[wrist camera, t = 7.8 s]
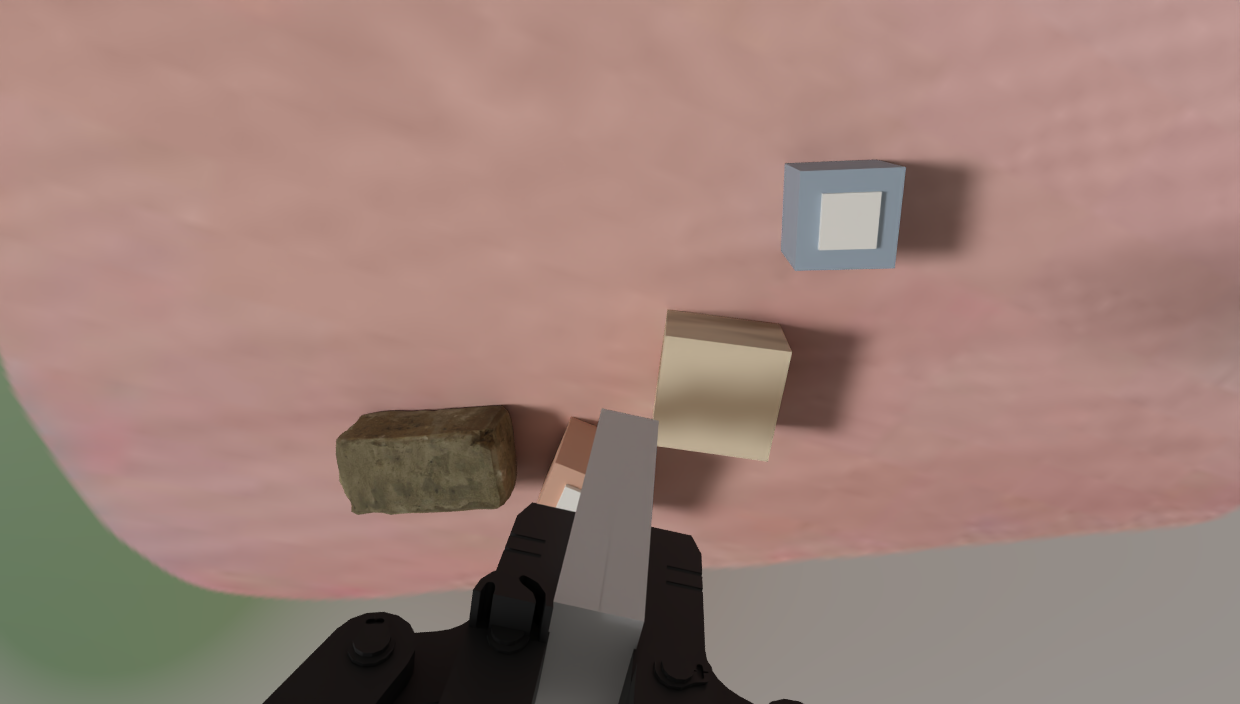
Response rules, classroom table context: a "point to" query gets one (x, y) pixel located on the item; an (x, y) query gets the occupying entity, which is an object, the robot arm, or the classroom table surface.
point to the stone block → (428, 460)
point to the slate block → (841, 214)
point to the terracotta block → (568, 467)
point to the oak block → (720, 384)
